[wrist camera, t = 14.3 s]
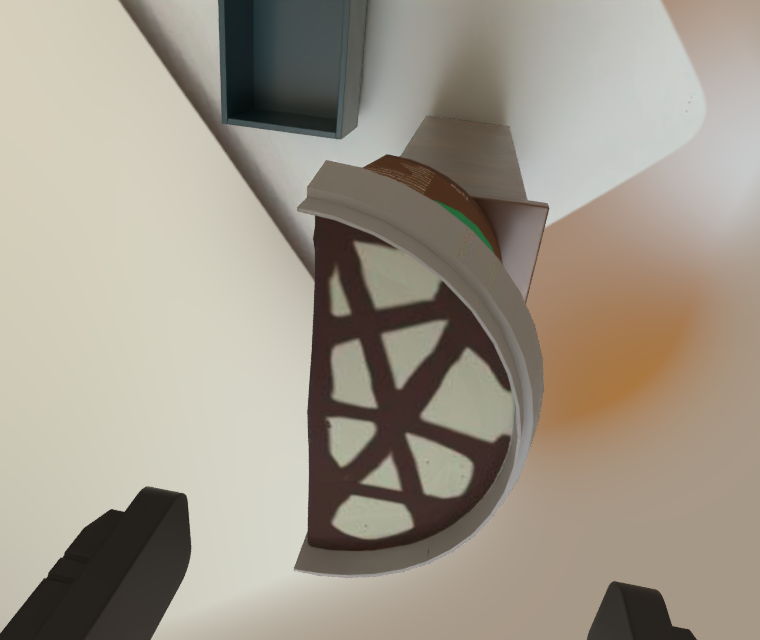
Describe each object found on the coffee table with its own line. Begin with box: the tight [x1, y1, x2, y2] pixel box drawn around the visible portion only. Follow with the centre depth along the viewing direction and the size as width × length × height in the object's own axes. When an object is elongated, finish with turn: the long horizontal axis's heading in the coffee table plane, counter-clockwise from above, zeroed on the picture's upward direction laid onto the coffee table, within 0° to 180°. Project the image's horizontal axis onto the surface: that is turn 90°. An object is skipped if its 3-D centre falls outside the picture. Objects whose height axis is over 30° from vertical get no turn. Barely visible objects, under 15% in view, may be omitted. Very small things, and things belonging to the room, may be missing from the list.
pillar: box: [400, 116, 527, 200], centre depth 33 cm, size 6×6×21 cm
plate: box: [467, 192, 549, 304], centre depth 23 cm, size 7×7×1 cm
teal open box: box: [218, 0, 367, 139], centre depth 37 cm, size 8×14×5 cm, turn 174°
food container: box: [294, 155, 544, 578], centre depth 18 cm, size 12×6×10 cm, turn 175°
